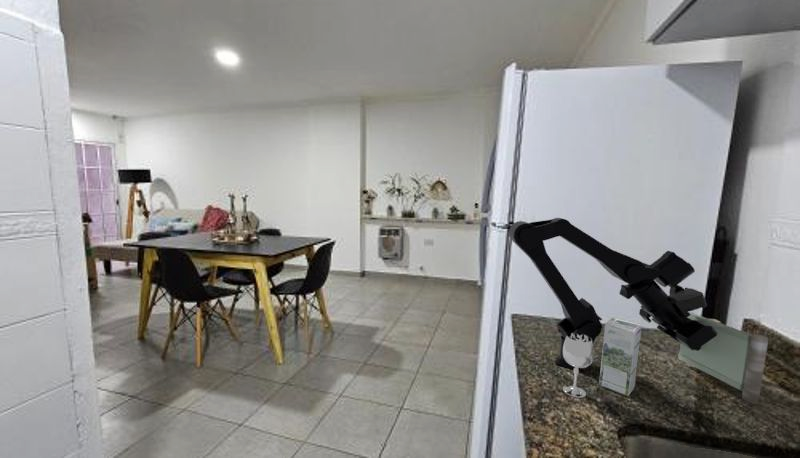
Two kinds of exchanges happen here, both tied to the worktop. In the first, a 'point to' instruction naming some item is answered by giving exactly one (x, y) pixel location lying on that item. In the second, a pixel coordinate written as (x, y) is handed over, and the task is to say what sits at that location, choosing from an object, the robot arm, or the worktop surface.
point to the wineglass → (577, 359)
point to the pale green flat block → (721, 353)
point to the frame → (754, 368)
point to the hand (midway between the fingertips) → (696, 348)
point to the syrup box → (620, 356)
